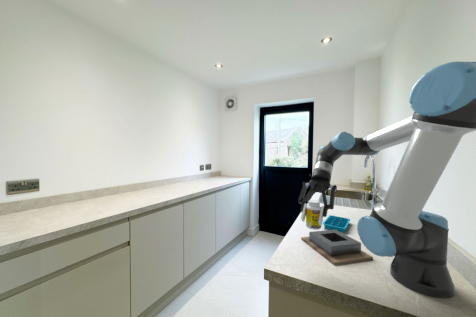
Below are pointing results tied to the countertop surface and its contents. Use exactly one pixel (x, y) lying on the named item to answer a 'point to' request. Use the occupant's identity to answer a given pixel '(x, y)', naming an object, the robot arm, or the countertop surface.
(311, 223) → the supplement bottle
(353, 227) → the countertop surface
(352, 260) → the brown base board
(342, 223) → the ice cube tray
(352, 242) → the square socket
